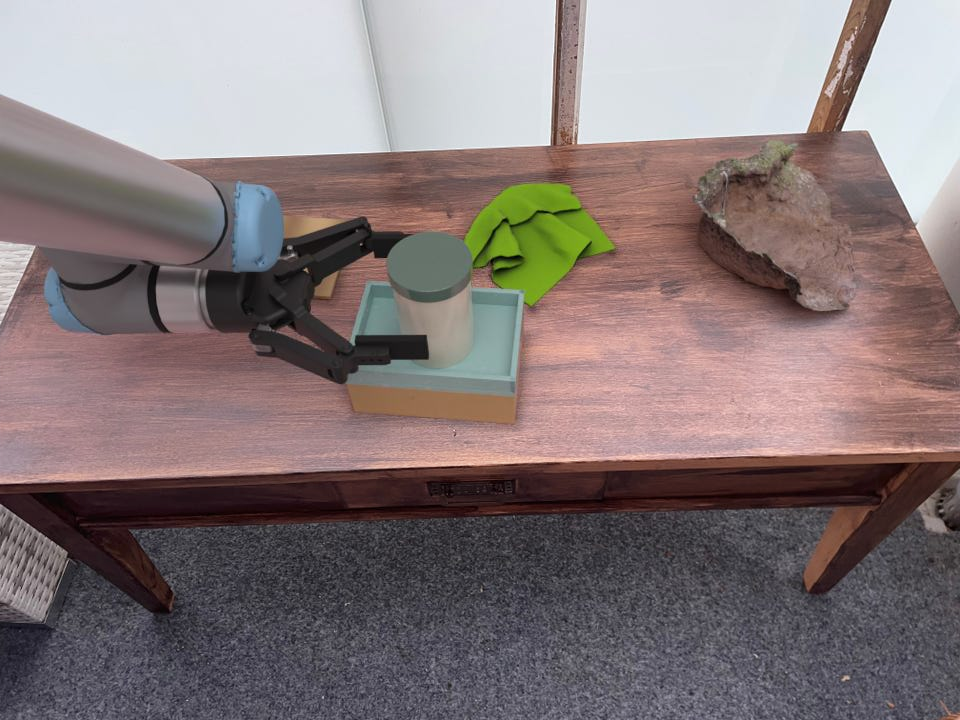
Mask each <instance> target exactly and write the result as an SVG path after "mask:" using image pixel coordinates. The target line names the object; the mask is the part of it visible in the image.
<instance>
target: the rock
mask: <svg viewBox="0 0 960 720" xmlns="http://www.w3.org/2000/svg"><path fill="white" fill-rule="evenodd" d="M797 147H799V144H798V143H796V142H795V143H790V144H785V142H784V141H782V140H779V139H771V140H769V141H768V142H767V143H766V142H765V143H763V145H762V146H761V147H760V148H759V153H757V154H753V155H751V156H749V157H747V156H746V157H744V158H743V157H742V158H737V157H732V158H726V159H721V160H720V161H717V162H716V164H715V165H714V166H711V168H709V169H706V170H705V172H704V173H705V175H702V176H700V178H699V180H697V184H696V185H697V186H696V187H697V190H696V192H697V193H695V194H694V195H692V200H693V201H692V202H694V204H697V207H698V208H699V209H700V210H701V212H702V215H701V218H700V220H699V222H698V227H697V231H696V232H697V233H696V240H697V242H698V243H699V244H700V246H701V248H702V250H703V251H704V252H705V253H707V254H708V256H709V257H710V258H711V259H712V260H713V262H715V263H716V264H717V265H719V266H721V267H722V268H724V269H726V270H727V271H728V272H730V273H732V274H736V275H738V276H739V277H741V278H743V279H744V281H745V282H748V283H751V284H755V285H757V286H759V287H765V288H766V287H768V288H769V287H770V288H773V289H775V290H784V289H788V293H789V296H790V298H791V299H792V300H794V301H795V302H796V303H798V304H799V305H801V306H802V307H804V308H806V309H810V310H812V311H817V312H831V311H837V310H839V311H842V310H847V309H848V308H850V306H851V305H850V304H849V302H850V301H851V300H852V299H853V298H854V297H856V290H857V287H858V284H857V278H856V275H855V270H856V264H855V257H854V253H853V245H854V241H853V231H852V226H850V224H848V223H847V222H841V221H837V220H836V219H835V218H834V217H832V215H831V214H832V210H831V206H832V205H831V203H832V202H831V199H830V197H828V196H827V193H826V191H825V190H824V189H823V188H822V185H820V184H819V182H818V181H817V178H816V177H815V175H814V173H812V172H811V171H810V170H808V169H804V168H803V167H801V166H799V165H797V164H795V163H793V162H790V161H789V160H790V159H791V158H794V157H793V156H794V153H793V152H796V151H797V149H796V148H797Z"/></svg>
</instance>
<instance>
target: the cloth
mask: <svg viewBox="0 0 960 720" xmlns="http://www.w3.org/2000/svg"><path fill="white" fill-rule="evenodd" d="M580 201H581V200H580V199H579V198H578V196H576V195H573V194H572V187H571V185H568V184H563V183H551V182H550V183H549V182H540V183H523V184H518V185H509V186H508V187H506V188H504V189H502V190H501V191H500V194H499V195H497V196H495V197H494V199H493V200H492V201H491V202H490V203H489V204H488V205H486V206H485V207H484V208H483V209H481V211H479V213H478V214H477V216H476V217H475V219H474V221H473V223H472V224H471V226H470V228H469V230H468V232H467V234H466V235H465V237H464V239H463V240H462V241H463V242H464V243H465V244H466V245H467V246H468V247H469V249H470V251H471V254H472V259H473V269H477V268H478V269H479V268H483V267H486V266H487V265H488V263H489V261H491V260H492V259H493V260H492V264H493V265H492V267H491V269H492V270H491V278H492V279H491V280H492V282H493V283H494V284H496V285H497V286H498V287H499V288H500V289H512V290H525V296H524V304H525V305H526V304H527V305H528V306H529V307H533V306H534V305H535V304H536V303H537V302H538V301H540V299H542V297H544V296H545V295H546V294H547V293H548V292H549V291H550V290H551V289H552V288H553V287H555V285H557V283H559V282H560V281H561V280H562V279H563V278H564V277H565V276H566V275H567V274H568V273H569V272H570V271H571V270H572V269H573V267H574V265H575V263H576V261H577V260H580V259H584V258H587V257H592V256H597V255H600V254H603V253H606V252H610V251H614V250H616V248H617V247H615V245H614V244H613V243H612V241H611V240H610V239H609V237H608V236H607V235H606V233H605V232H604V231H603V230H602V228H601V227H600V226H599V225H598V223H597V222H596V221H595V220H594V218H593V217H591V216H590V214H588V212H587V211H586V209H584V207H582V204H581V202H580Z"/></svg>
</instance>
